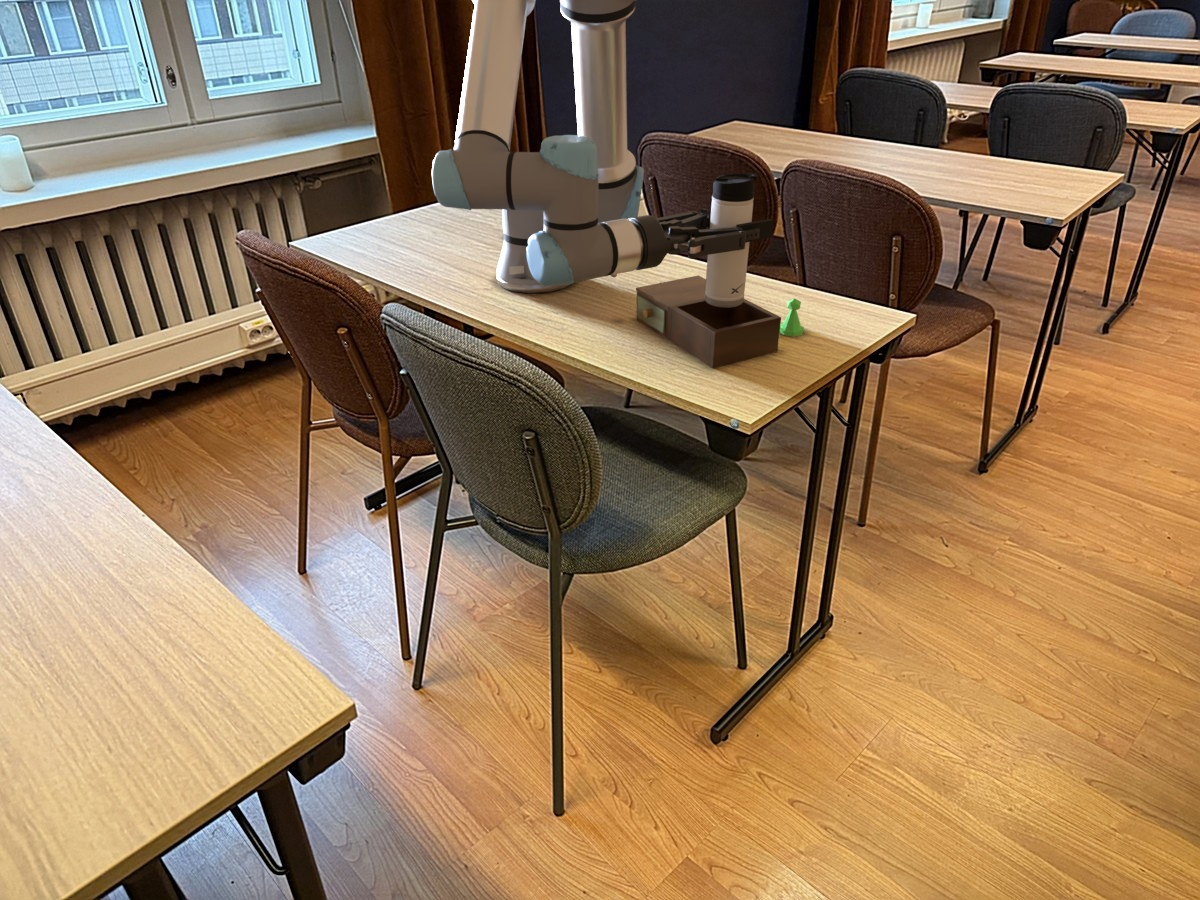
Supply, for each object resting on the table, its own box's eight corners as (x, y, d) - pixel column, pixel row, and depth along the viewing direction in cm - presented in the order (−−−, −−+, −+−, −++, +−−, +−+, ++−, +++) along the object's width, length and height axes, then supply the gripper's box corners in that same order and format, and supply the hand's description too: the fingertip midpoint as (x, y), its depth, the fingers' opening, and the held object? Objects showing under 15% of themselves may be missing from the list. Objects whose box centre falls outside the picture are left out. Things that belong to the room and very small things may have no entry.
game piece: (808, 331, 146) (812, 298, 143) (794, 338, 144) (798, 304, 141) (787, 324, 149) (791, 292, 146) (773, 331, 146) (776, 298, 143)
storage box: (629, 321, 150) (629, 288, 147) (696, 306, 156) (698, 275, 153) (705, 370, 133) (708, 334, 130) (777, 351, 139) (781, 317, 136)
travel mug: (744, 309, 134) (757, 180, 124) (702, 306, 135) (711, 177, 125) (746, 295, 139) (759, 170, 129) (706, 292, 140) (715, 168, 130)
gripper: (598, 251, 133) (718, 230, 142) (666, 289, 118) (794, 263, 128) (598, 203, 129) (722, 184, 138) (668, 236, 114) (801, 213, 124)
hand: (756, 222), depth 133 cm, fingers closed on travel mug, 6 cm apart
